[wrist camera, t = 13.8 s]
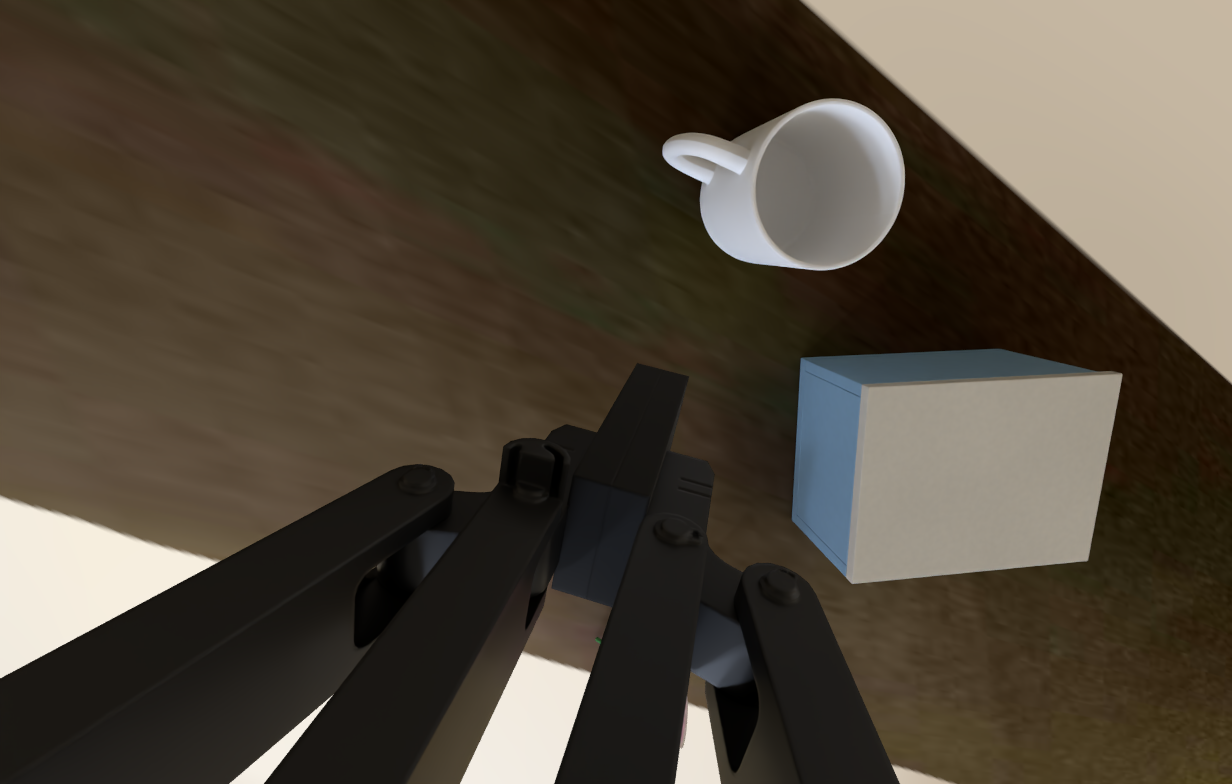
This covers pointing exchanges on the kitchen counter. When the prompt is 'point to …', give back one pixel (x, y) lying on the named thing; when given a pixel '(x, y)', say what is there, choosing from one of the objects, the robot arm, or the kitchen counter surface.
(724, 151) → the cup
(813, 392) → the case
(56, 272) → the kitchen counter surface
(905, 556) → the case lid
